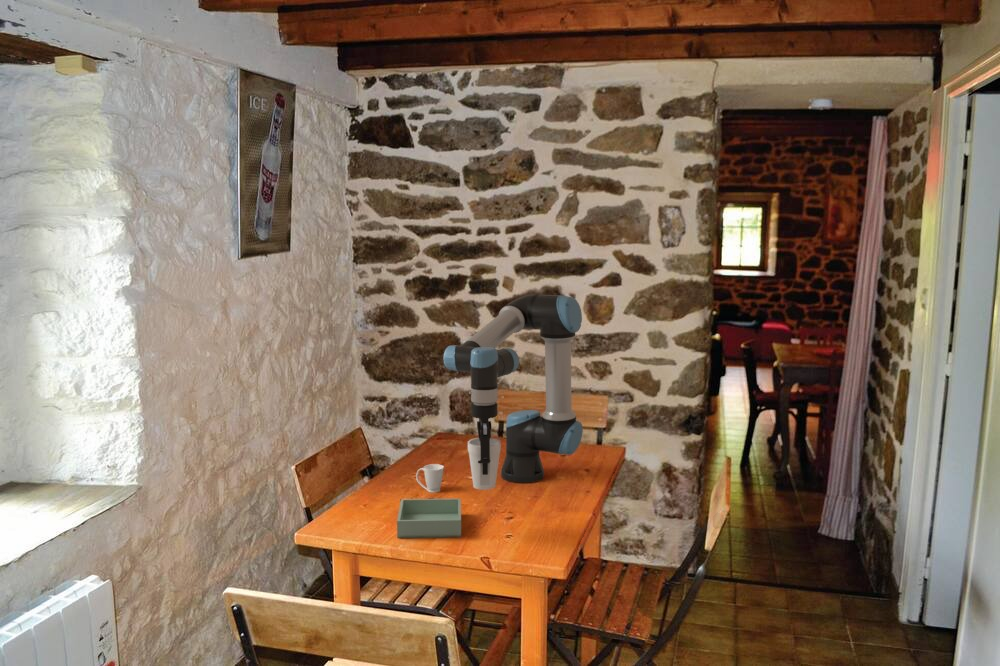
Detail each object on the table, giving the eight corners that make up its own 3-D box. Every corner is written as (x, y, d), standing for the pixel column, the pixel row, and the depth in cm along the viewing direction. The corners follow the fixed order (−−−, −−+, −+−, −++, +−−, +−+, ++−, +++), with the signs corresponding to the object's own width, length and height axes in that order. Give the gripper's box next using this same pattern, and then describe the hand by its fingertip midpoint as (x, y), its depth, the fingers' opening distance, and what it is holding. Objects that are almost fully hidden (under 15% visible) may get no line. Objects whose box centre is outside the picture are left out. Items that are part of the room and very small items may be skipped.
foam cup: (467, 481, 235) (467, 437, 233) (498, 480, 236) (499, 437, 234) (468, 492, 226) (468, 447, 224) (501, 491, 226) (501, 446, 225)
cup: (438, 495, 263) (438, 471, 262) (411, 491, 267) (411, 467, 266) (448, 488, 269) (448, 465, 268) (421, 484, 273) (421, 461, 272)
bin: (460, 514, 246) (460, 498, 245) (461, 537, 228) (461, 520, 227) (401, 515, 245) (401, 499, 244) (397, 538, 227) (397, 521, 226)
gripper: (470, 393, 238) (470, 467, 241) (471, 412, 216) (472, 492, 219) (495, 393, 238) (495, 466, 242) (499, 411, 216) (499, 491, 220)
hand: (484, 478), depth 230 cm, fingers closed on foam cup, 9 cm apart
